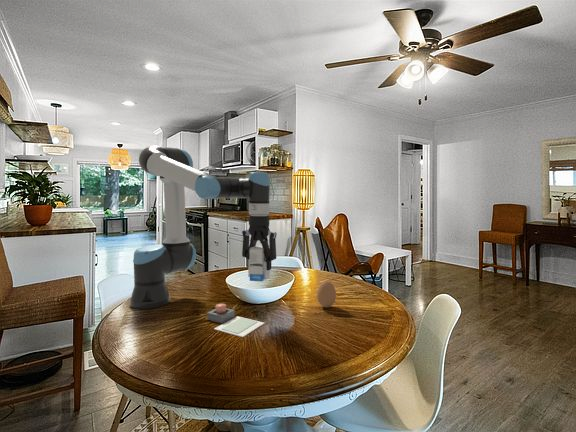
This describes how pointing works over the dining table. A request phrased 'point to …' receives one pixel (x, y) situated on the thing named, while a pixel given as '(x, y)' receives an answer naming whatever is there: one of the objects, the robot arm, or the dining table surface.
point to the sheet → (239, 326)
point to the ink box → (257, 263)
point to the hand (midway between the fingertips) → (258, 277)
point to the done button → (221, 308)
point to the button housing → (220, 315)
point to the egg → (326, 294)
